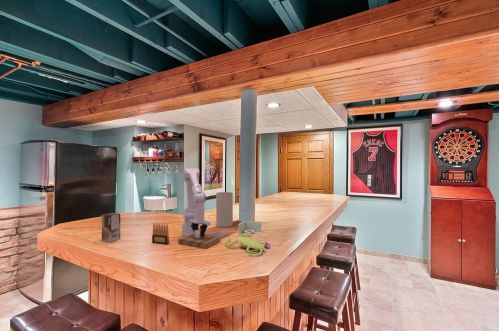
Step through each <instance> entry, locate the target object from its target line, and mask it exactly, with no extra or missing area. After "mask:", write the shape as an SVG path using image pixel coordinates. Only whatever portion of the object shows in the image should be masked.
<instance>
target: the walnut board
mask: <svg viewBox="0 0 499 331" xmlns="http://www.w3.org/2000/svg"><path fill="white" fill-rule="evenodd" d="M220 242H221V238H220V237H217V236H211V234H205V235H204V238H203V239H201V240H199V239H195V235H194V233H192V234H189V235H183V236H182V237H179V238H178V239H177V244H178V245H181V246H182V245H183V246H187V247H193V248H199V249H203V250H207V249H209V248H211V247H213V246H215V245H217V244H219V243H220Z"/></svg>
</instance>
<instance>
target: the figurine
mask: <svg viewBox="0 0 499 331" xmlns="http://www.w3.org/2000/svg"><path fill="white" fill-rule="evenodd" d="M238 236H239V237H238V238H237V239H236V240H233V241H232V239H231V238H228V240H226V242H225V243H224V248H226V247H227V248H229V247H231V246H232V245H234V244H236V243H238V242H239V243H240V244H241V245H243V246H246V252H247V253H248V255H249V256H250V257H253V258H254V257H255V258H256V257H260V256H261V255H262V254H263V249H265V248H266V247H267V249H269V248H270V246H271V243H268V242H266V241H265V242H264V241H257V240H255V239H252V238H251V237H253V234H250V233H244V232H243V233H242V234H239V233H238ZM231 241H232V242H231ZM249 249H253V250H249ZM258 251H259V252H258ZM252 252H258V253H256V254H253V253H252Z"/></svg>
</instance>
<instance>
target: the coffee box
mask: <svg viewBox="0 0 499 331" xmlns="http://www.w3.org/2000/svg"><path fill="white" fill-rule="evenodd" d="M117 240H118V241H121V213H117V212H116V213H114V212H107V213H105V214H104V213H103V214H101V241H103V242H107V241H108V243H114V242H117Z"/></svg>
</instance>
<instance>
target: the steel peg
mask: <svg viewBox="0 0 499 331" xmlns="http://www.w3.org/2000/svg"><path fill="white" fill-rule="evenodd" d="M203 238H204V237H201V230H200V227H198V229H196V230H195V239H199V240H201V239H203Z"/></svg>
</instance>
